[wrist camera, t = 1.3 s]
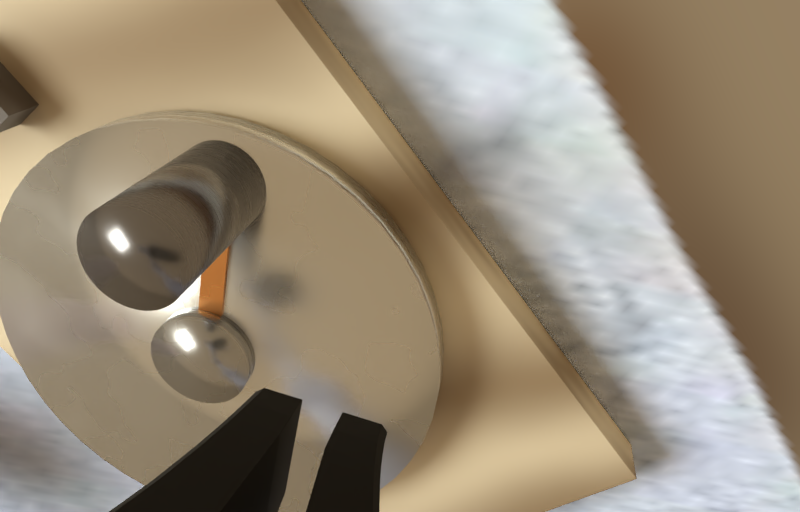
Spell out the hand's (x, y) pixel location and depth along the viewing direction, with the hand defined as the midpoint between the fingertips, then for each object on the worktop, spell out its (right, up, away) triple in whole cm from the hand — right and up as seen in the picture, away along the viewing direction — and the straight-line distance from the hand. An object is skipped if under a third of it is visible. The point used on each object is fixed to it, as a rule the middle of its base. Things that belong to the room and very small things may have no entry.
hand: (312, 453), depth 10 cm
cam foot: (-4, +1, +11) cm, 11 cm away
